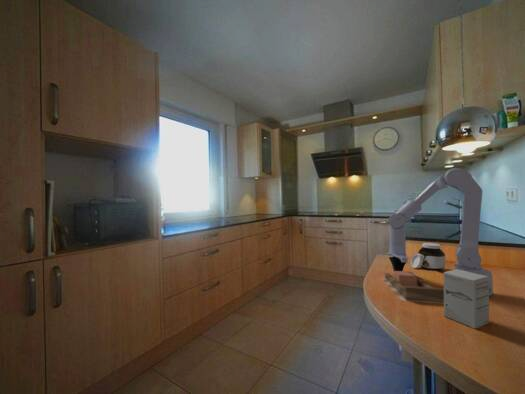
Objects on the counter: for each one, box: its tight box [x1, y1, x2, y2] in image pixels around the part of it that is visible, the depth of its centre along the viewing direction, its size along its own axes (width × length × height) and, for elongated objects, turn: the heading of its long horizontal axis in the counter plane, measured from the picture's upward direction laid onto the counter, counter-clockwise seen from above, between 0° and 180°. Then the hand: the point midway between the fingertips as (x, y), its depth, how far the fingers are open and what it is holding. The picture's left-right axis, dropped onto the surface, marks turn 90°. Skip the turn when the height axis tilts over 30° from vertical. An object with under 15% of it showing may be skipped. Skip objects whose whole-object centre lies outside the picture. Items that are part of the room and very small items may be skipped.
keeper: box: [393, 270, 418, 287], centre depth 88 cm, size 5×6×4 cm
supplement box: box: [443, 268, 490, 330], centre depth 63 cm, size 7×7×13 cm
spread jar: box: [410, 242, 447, 272], centre depth 108 cm, size 12×11×12 cm
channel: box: [381, 272, 444, 305], centre depth 83 cm, size 22×14×5 cm, turn 168°
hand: (398, 275), depth 95 cm, fingers closed
